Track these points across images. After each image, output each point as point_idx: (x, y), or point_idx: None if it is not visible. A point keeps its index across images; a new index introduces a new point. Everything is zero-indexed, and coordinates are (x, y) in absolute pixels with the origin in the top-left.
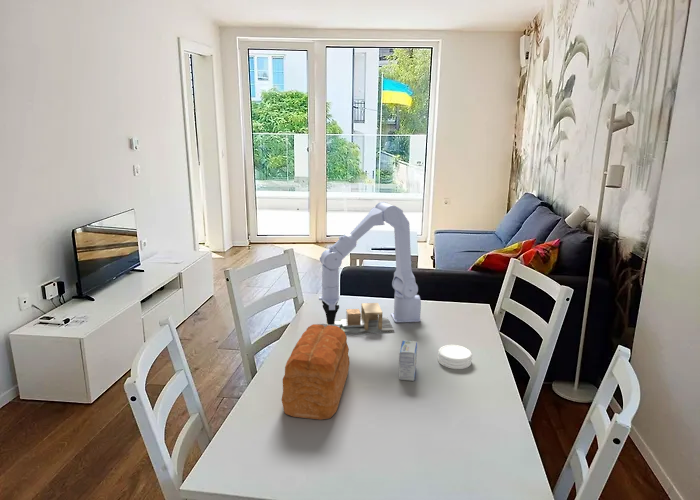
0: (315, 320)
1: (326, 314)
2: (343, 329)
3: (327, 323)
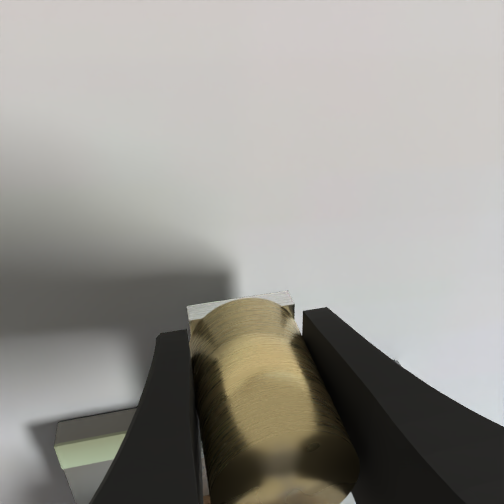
0: (490, 104)
1: (105, 484)
2: (116, 451)
3: (212, 316)
